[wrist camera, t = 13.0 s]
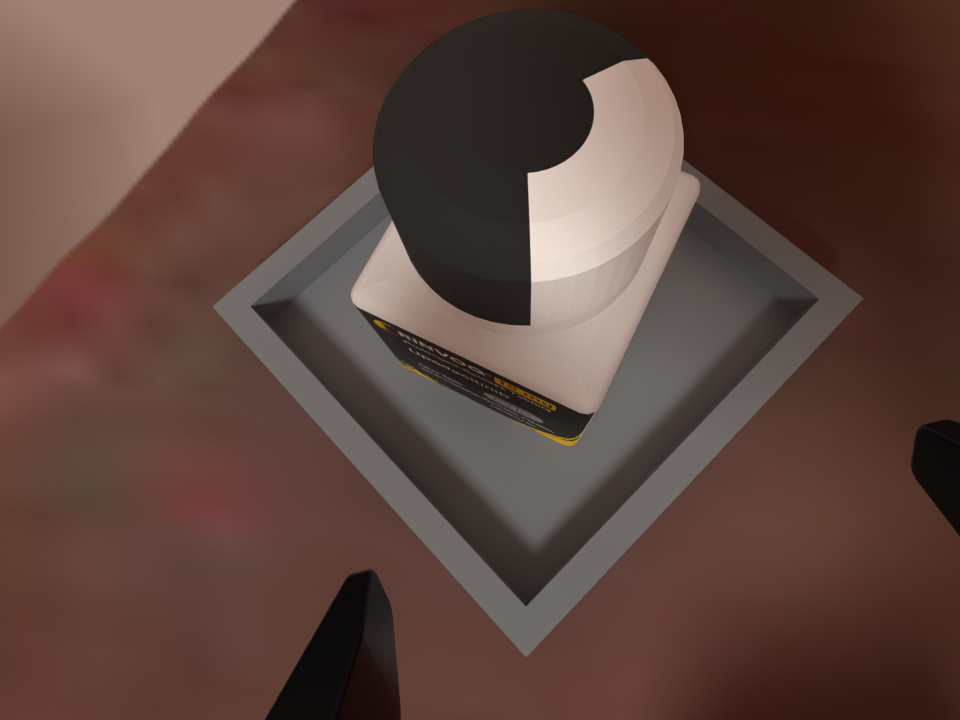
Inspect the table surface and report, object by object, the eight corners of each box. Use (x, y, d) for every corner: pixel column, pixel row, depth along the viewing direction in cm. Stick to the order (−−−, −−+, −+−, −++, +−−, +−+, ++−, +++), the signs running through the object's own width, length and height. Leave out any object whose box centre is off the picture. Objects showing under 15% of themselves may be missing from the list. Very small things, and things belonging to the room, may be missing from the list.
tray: (526, 641, 20) (526, 657, 18) (243, 328, 24) (212, 306, 22) (827, 322, 22) (863, 298, 20) (523, 80, 26) (523, 35, 24)
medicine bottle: (398, 365, 22) (262, 199, 11) (484, 209, 24) (444, -84, 12) (573, 451, 21) (628, 365, 10) (653, 280, 23) (785, 27, 11)
